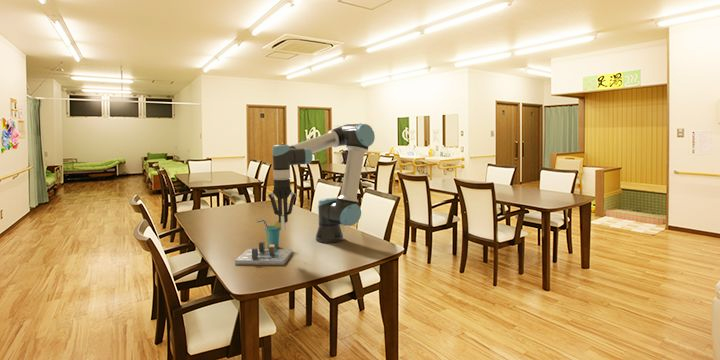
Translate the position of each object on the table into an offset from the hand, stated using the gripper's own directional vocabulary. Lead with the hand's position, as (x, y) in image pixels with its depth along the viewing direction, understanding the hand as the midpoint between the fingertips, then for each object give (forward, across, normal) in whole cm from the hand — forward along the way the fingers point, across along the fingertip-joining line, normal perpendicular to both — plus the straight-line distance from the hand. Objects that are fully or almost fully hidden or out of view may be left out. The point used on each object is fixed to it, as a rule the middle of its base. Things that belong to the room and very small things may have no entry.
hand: (283, 229), depth 185 cm
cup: (+14, +12, -18) cm, 26 cm away
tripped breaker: (+12, +6, 0) cm, 13 cm away
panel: (+14, +9, +1) cm, 17 cm away
